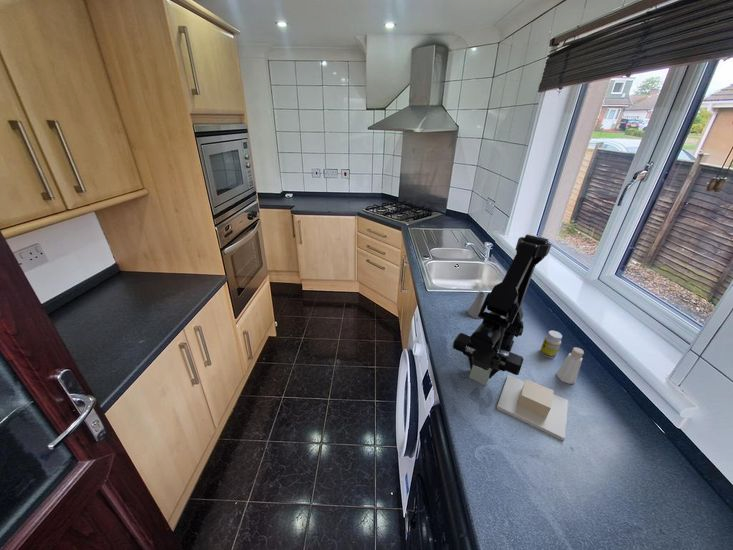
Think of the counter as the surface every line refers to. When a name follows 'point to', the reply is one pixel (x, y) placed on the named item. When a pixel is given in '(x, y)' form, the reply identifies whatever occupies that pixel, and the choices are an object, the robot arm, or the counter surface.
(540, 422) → the build base
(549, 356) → the supplement bottle
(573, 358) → the pepper shaker
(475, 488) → the counter surface
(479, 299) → the flask
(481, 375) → the sage cube
